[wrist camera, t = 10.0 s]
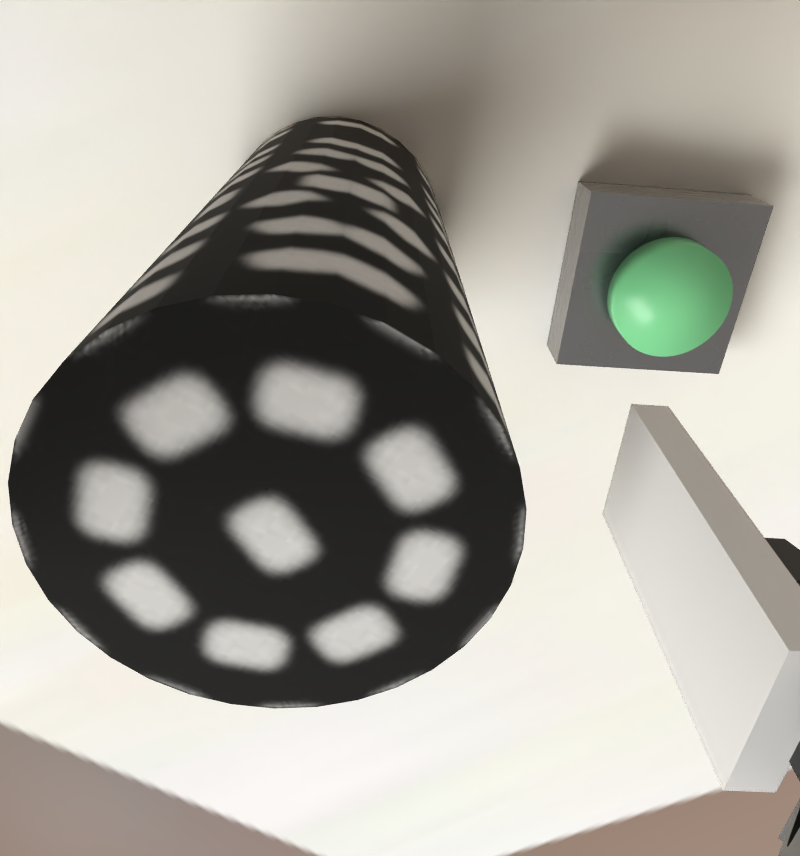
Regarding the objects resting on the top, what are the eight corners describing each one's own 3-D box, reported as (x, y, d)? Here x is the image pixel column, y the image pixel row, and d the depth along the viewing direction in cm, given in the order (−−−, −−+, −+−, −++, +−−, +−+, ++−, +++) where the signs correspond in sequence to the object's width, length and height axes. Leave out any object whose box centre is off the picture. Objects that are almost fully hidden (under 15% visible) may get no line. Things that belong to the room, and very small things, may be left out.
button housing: (546, 345, 32) (556, 364, 30) (578, 181, 29) (591, 192, 27) (700, 354, 32) (718, 373, 31) (749, 194, 29) (773, 205, 27)
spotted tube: (188, 187, 28) (-112, 458, 11) (372, 72, 26) (363, 177, 9) (304, 356, 32) (217, 760, 15) (473, 265, 30) (601, 603, 13)
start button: (584, 323, 31) (604, 353, 28) (606, 219, 29) (630, 241, 26) (683, 329, 31) (713, 359, 29) (713, 227, 29) (748, 250, 26)
